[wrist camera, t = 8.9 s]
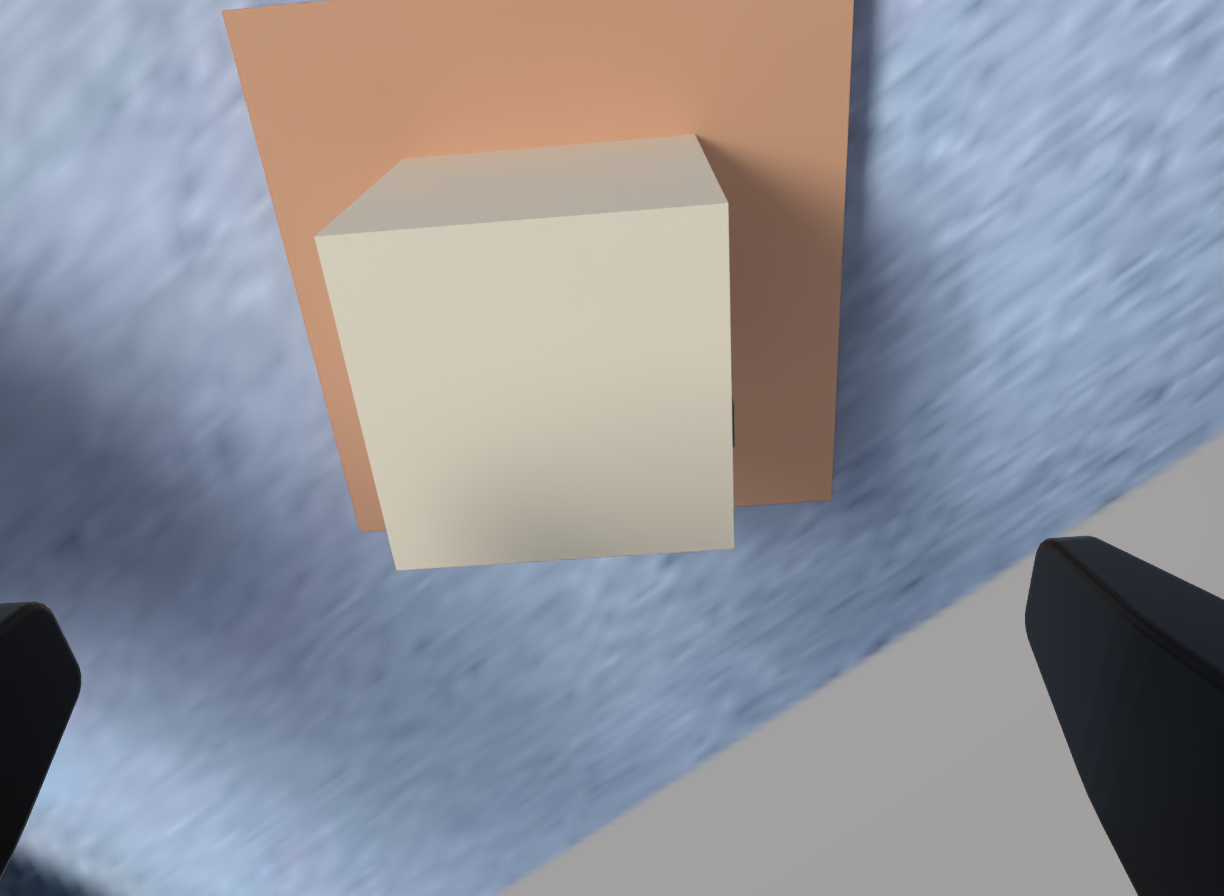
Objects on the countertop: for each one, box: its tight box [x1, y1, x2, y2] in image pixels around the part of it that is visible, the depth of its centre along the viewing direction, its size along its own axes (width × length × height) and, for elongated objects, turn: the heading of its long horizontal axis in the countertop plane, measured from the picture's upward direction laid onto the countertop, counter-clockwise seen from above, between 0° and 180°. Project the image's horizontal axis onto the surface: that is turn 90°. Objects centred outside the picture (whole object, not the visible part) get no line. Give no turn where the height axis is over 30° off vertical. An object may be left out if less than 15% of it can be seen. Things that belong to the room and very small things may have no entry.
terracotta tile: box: [222, 0, 854, 532], centre depth 16 cm, size 10×10×1 cm
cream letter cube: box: [314, 134, 735, 571], centre depth 14 cm, size 5×5×5 cm
